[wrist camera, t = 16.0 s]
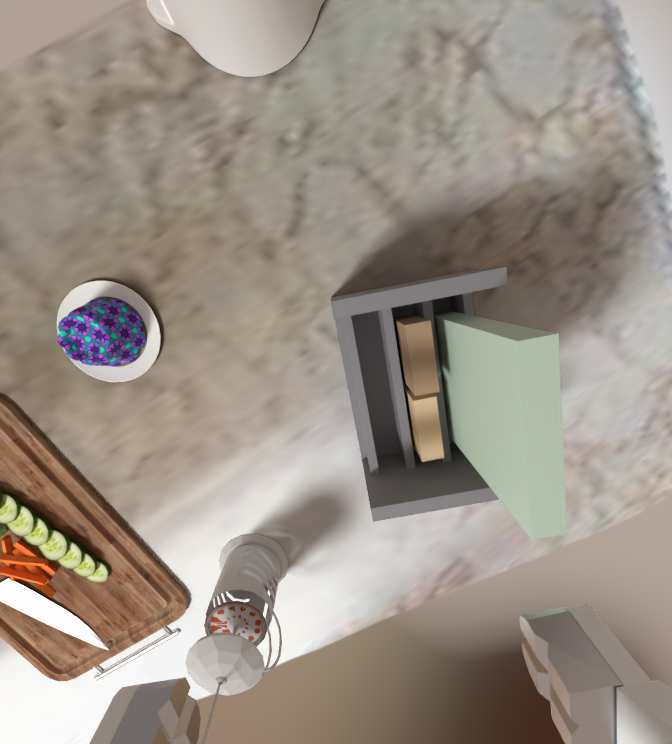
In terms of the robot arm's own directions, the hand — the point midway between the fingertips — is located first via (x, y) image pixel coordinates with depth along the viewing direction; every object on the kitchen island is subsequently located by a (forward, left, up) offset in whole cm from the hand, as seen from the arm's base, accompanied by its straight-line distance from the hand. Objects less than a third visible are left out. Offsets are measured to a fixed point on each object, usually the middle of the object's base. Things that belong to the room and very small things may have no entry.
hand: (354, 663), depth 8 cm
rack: (+4, +8, -35) cm, 37 cm away
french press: (+28, -17, -36) cm, 48 cm away
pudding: (-8, -26, -36) cm, 45 cm away
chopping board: (+19, -47, -36) cm, 62 cm away
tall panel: (+4, +13, -34) cm, 36 cm away
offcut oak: (+8, +8, -34) cm, 36 cm away
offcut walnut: (0, +8, -34) cm, 35 cm away
